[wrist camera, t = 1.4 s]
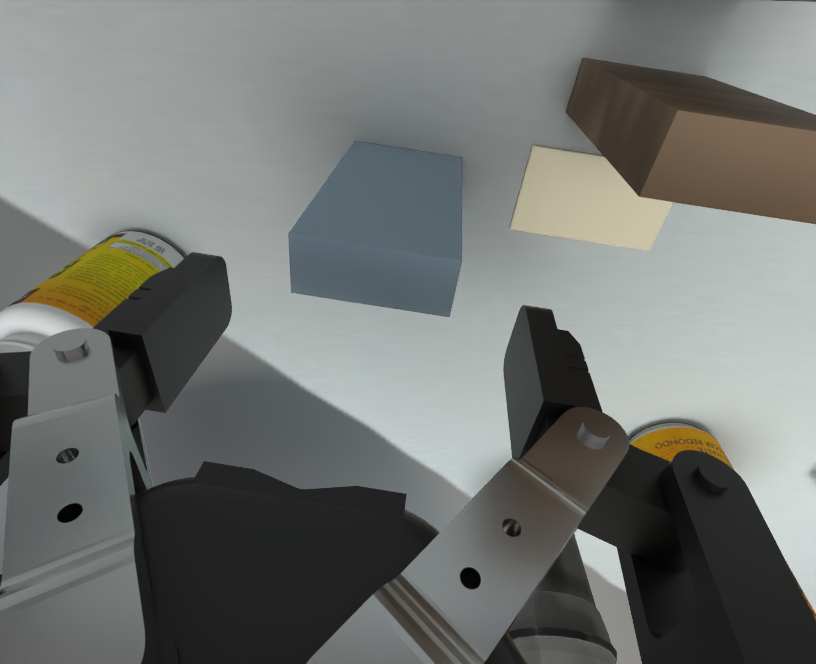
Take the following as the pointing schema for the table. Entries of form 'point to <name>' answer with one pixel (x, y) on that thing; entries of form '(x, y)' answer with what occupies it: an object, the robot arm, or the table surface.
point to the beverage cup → (563, 618)
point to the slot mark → (584, 201)
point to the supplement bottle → (84, 289)
